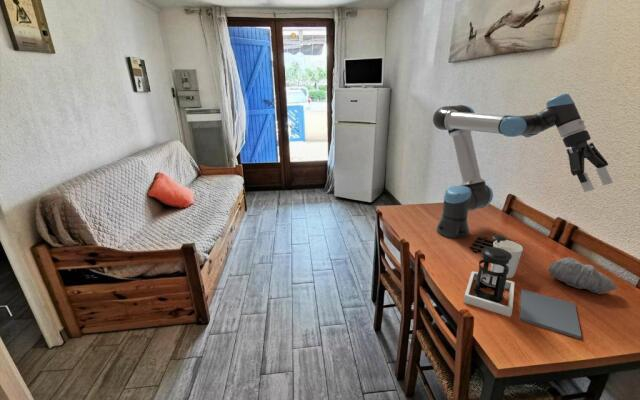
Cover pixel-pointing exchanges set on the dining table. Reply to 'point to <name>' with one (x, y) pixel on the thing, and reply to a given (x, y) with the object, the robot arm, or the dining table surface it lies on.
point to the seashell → (581, 276)
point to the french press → (489, 277)
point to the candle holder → (513, 262)
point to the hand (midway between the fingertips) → (599, 187)
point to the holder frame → (486, 303)
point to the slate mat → (549, 313)
